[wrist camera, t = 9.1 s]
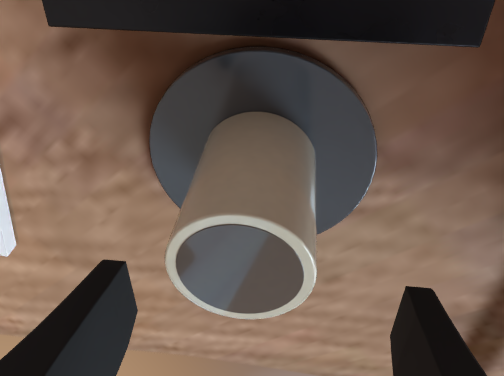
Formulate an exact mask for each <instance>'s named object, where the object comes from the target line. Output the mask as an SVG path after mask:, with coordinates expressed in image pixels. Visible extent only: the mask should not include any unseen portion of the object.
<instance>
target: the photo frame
mask: <svg viewBox="0 0 504 376" xmlns="http://www.w3.org/2000/svg"><path fill="white" fill-rule="evenodd" d="M15 246H16V241H15V236H14V231H13V227H12V222H11V217H10V212H9V207H8V202H7V198H6V193H5V188H4V183H3V178H2V173H1V169H0V255H2V256H6V257H8V255H9V254H10V253H11V251H12V250H13V249H14V247H15Z"/></svg>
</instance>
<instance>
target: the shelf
mask: <svg viewBox="0 0 504 376" xmlns="http://www.w3.org/2000/svg"><path fill="white" fill-rule="evenodd" d="M42 2H43V6H44V10H45V14H46V18H47V22H48V25H49V26H51V27H70V28H91V29H111V30H132V31H152V32H173V33H193V34H214V35H234V36H255V37H275V38H296V39H316V40H337V41H357V42H378V43H398V44H419V45H439V46H460V47H480V45H481V42H482V39H483V36H484V33H485V30H486V27H487V24H488V21H489V17H490V14H491V11H492V8H493V5H494V2H495V0H42Z"/></svg>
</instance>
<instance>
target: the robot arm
mask: <svg viewBox="0 0 504 376" xmlns="http://www.w3.org/2000/svg"><path fill="white" fill-rule="evenodd" d="M137 311H138V310H137V306H136V302H135V298H134V293H133V289H132V285H131V281H130V277H129V273H128V269H127V264H126V261H115V260H102V261H101V262H100V263H99V264H98V265H97V266H96V267H95V268H94V269H93V270H92V271H91V272H90V273H89V274H88V276H87V277H86V278H85V279H84V280H83V281H82V282H81V283H80V284H79V285H78V286H77V287H76V288H75V289H74V290H73V291H72V292H71V293H70V294H69V295H68V296H67V297H66V298H65V299H64V300H63V301H62V302H61V303H60V304H59V305H58V306H57V307H56V308H55V309H54V310H53V311H52V312H51V313H50V314H49V315H48V316H47V317H46V318H45V319H44V320H43V321H42V322H41V323H40V324H39V325H38V326H37V327H36V328H35V329H34V330H33V331H32V332H31V333H30V334H28V335H27V336H26V337H25V338H24V339H23V340H22V341H21V342H20V343H19V344H18V345H16V346H15V347H14V348H13V349H12V350H11V351H10V352H9V353H8V354H7V355H5V356H4V357H3V358H2V359H1V360H0V376H116V374H117V372H118V370H119V367H120V365H121V362H122V360H123V357H124V355H125V352H126V350H127V347H128V344H129V340H130V337H131V334H132V330H133V326H134V323H135V319H136V315H137ZM390 340H391V354H392V366H393V376H487V375H486V374H485V372H484V371H483V369H482V368H481V366H480V365H479V363H478V362H477V360H476V359H475V357H474V356H473V354H472V353H471V351H470V350H469V348H468V347H467V345H466V344H465V342H464V340H463V339H462V337H461V336H460V334H459V332H458V331H457V329H456V328H455V326H454V324H453V323H452V321H451V319H450V318H449V316H448V314H447V313H446V311H445V309H444V308H443V306H442V304H441V302H440V301H439V299H438V297H437V296H436V294H435V292H434V291H433V290H432V289H431V288H421V287H410V286H406V288H405V291H404V294H403V297H402V300H401V303H400V306H399V309H398V313H397V316H396V319H395V322H394V325H393V328H392V331H391V334H390Z"/></svg>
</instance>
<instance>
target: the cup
mask: <svg viewBox="0 0 504 376" xmlns="http://www.w3.org/2000/svg"><path fill="white" fill-rule="evenodd" d="M165 266H166V270H167V273H168V275H169V278H170V280H171V281H172V283H173V284H174V286H175V287H176V288H177V289H178V291H179V292H180V293H182V294H183V295H184V296H185V297H186V298H187V299H189V300H190V301H191V302H193V303H194V304H196V305H198V306H200V307H201V308H203V309H205V310H208V311H210V312H213V313H216V314H219V315H222V316H227V317H231V318H238V319H263V318H269V317H274V316H278V315H281V314H284V313H286V312H288V311H290V310H292V309H294V308H296V307H297V306H298V305H300V304H301V303H302V302H303V301H304V300H305V299H306V298H307V297H308V296H309V294H310V293H311V291H312V289H313V287H314V285H315V282H316V278H317V204H316V154H315V151H314V147H313V145H312V143H311V141H310V140H309V138H308V136H307V135H306V134H305V133H304V132H303V131H302V130H301V129H300V128H299V127H298V126H297V125H296V124H294V123H293V122H291V121H290V120H288V119H286V118H284V117H281V116H279V115H276V114H272V113H268V112H245V113H240V114H237V115H234V116H231V117H229V118H227V119H225V120H224V121H222V122H221V123H219V124H218V125H217V126H216V127H215V128H214V129H213V130H212V131H211V133H210V134H209V136H208V138H207V140H206V142H205V145H204V147H203V150H202V153H201V155H200V158H199V161H198V163H197V166H196V169H195V171H194V174H193V177H192V179H191V182H190V185H189V187H188V190H187V193H186V196H185V198H184V201H183V204H182V206H181V209H180V212H179V214H178V217H177V220H176V222H175V225H174V228H173V230H172V233H171V236H170V239H169V241H168V244H167V247H166V250H165Z"/></svg>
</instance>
